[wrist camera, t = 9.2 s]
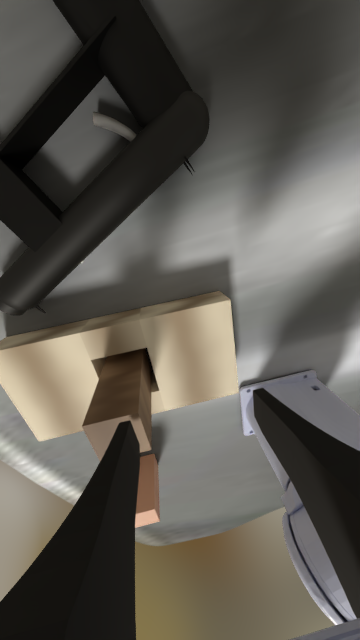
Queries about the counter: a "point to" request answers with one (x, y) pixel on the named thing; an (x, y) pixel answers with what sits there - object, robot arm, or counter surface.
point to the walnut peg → (121, 400)
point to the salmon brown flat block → (147, 492)
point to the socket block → (114, 338)
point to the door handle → (135, 159)
